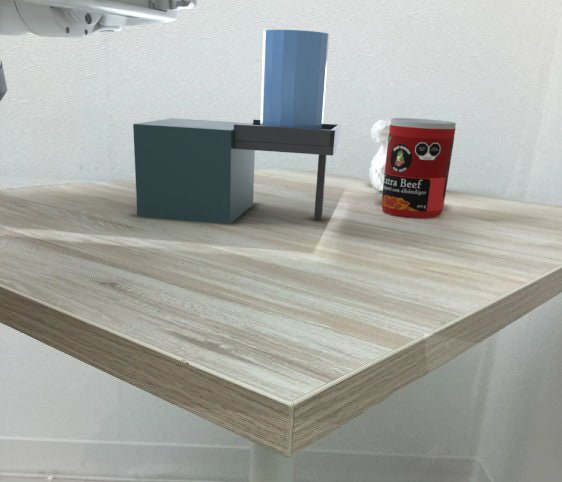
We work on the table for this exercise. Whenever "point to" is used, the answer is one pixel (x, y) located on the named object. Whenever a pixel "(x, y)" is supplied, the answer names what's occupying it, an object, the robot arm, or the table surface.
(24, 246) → the table surface
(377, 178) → the bust
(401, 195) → the canned food
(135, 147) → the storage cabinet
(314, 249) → the table surface
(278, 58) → the cylindrical container
